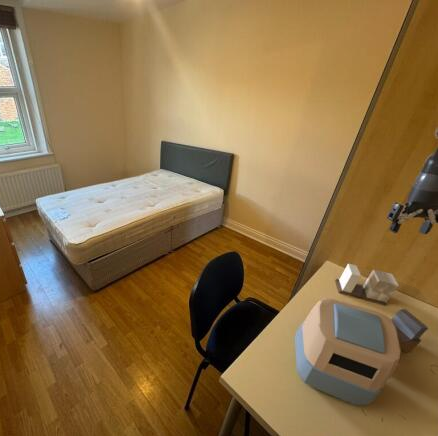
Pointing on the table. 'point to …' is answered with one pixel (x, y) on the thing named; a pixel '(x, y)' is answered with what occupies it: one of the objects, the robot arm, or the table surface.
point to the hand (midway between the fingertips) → (407, 232)
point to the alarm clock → (346, 350)
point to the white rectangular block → (349, 278)
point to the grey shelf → (406, 342)
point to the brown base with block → (373, 288)
